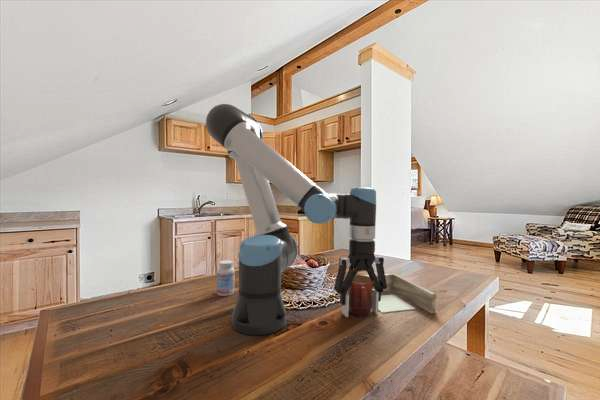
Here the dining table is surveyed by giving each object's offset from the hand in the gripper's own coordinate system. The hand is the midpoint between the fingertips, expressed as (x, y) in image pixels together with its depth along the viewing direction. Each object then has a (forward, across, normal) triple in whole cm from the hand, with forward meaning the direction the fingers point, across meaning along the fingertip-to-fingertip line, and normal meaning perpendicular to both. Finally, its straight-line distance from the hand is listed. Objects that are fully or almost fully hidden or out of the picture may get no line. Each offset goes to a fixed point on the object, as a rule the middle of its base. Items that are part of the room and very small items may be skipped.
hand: (360, 313), depth 84 cm
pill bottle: (0, -39, +26) cm, 47 cm away
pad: (0, +13, +5) cm, 14 cm away
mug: (0, 0, 0) cm, 0 cm away
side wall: (0, +15, +16) cm, 22 cm away
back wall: (0, +22, +6) cm, 23 cm away
